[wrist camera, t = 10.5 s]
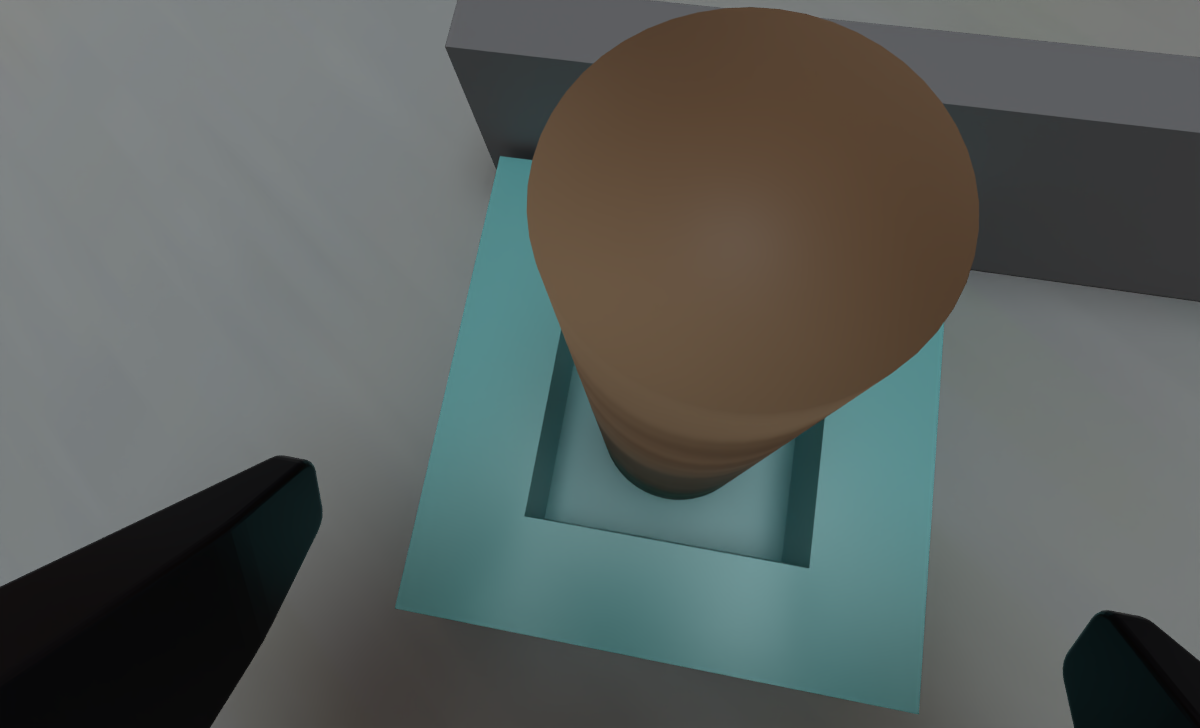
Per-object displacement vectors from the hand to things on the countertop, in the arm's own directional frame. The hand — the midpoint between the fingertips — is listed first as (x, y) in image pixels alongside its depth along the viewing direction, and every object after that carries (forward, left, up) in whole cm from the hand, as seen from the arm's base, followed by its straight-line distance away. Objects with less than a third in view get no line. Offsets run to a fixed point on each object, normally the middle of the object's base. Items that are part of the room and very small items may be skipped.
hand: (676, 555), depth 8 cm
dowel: (+3, +1, -10) cm, 10 cm away
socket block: (+3, +1, -11) cm, 11 cm away
